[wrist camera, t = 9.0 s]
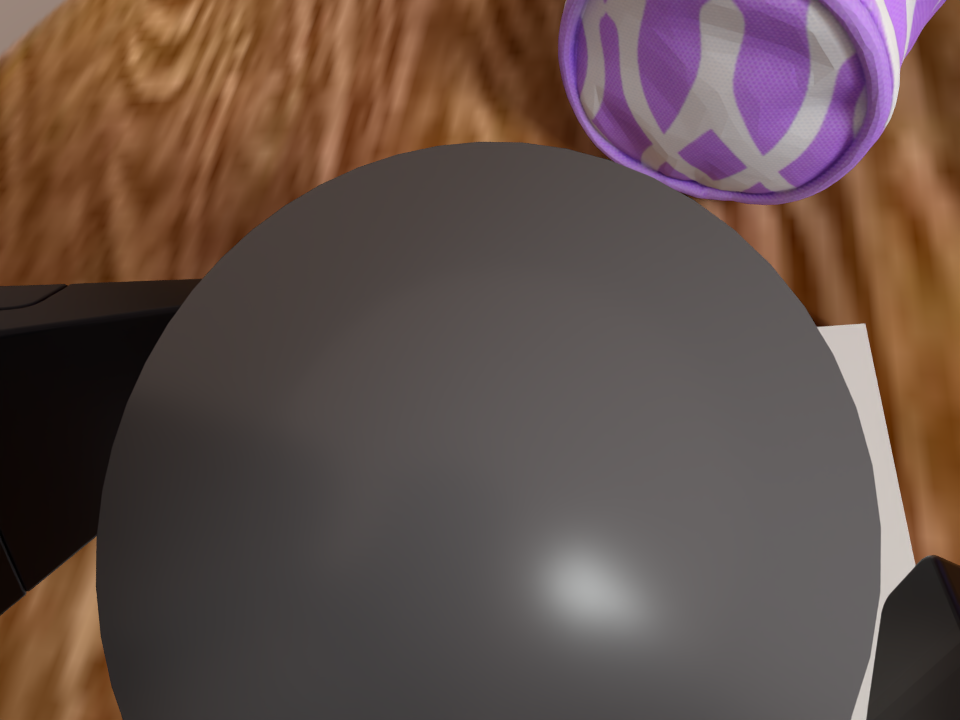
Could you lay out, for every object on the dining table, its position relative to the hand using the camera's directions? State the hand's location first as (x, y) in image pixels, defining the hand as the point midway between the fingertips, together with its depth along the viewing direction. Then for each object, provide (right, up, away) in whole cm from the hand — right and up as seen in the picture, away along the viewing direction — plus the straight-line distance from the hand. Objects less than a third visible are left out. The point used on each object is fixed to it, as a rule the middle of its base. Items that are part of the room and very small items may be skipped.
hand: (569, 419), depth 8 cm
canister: (+1, -3, +7) cm, 8 cm away
